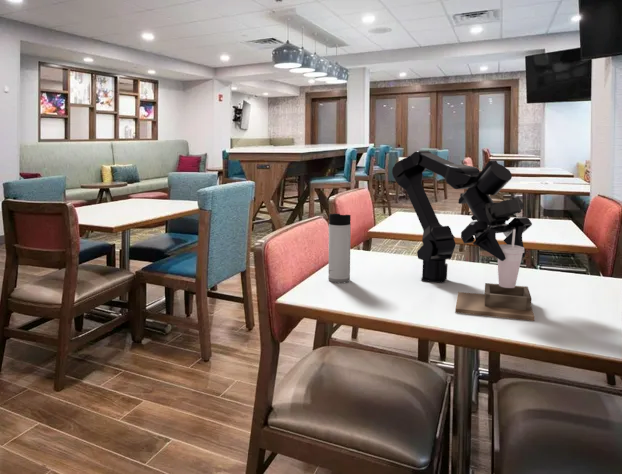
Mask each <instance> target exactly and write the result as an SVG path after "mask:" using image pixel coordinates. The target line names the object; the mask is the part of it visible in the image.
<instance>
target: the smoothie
mask: <svg viewBox="0 0 622 474" xmlns="http://www.w3.org/2000/svg"><path fill="white" fill-rule="evenodd" d="M514 241H515V229H513V235H512V245H509V244H506V243H505V244H499V245H500V247H501V249H502V251H503V253H504V256H505V258H506V259H505V260H504V261H501V260H500V259H498V258H497V273H498V274H497V275H498V284H499V286H501V287H504V288H514V287H515V286H517V285H516V284H517V280H518V276H519V272H520V268H521V262H522V259H523V258H522V254H523V253H524V251H525V247H521V246H517V245H514Z"/></svg>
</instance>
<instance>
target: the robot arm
mask: <svg viewBox="0 0 622 474" xmlns="http://www.w3.org/2000/svg"><path fill="white" fill-rule="evenodd" d="M427 170H429V171H431V172H432V173H434V174H436V175H438V176H440V177H442V178H444V180H445V183H446V184H448V185H449V186H450V187H451V188H453V189H454V190H465V191H464V192H462V193H460V194H459V195H460V197H459V199H458V204H460V205H461V204H467V206H468V208H469V209H470V211H471V213H472V216H470V218H471V221H470V223H469V224H468V225H467V226H466V227H465V228H464V229H463V230H462V231H461V233H460V238H461V240H462V242H463V244H472V245H474V246H477V247H479V248H481V249H482V250H484V251H486V252H487V253H489V254H490V255H492V256H494V257H495V258H496V259H497V260H498V259H500V260H501V261H504V260H505V259H506V258H505V256H504V253H503V251H502V249H501V247H500V245H501V244H499V241H498V240H497V237H496V235H497V234H503V235H504V236H505V238H504V239H503V242H504V243H505V244H509V245H512V235H513V229H515V241H514V245H517V246H521V247H524V243H523V233H525V232H526V231H527V230H528V229H529V228H530V227H532V226H533V223H532V222H531V220H530V218H529V217H526V216H520V217H513V219H512V220H511V221H510V222H509V220H510V219H511V216H512V215H516V214H520V213H522V210H523V209H524V202H523V201H522V200H521V198H520V197H513V198H510V199H506V200H505V199H504V200H502V201H500V202H494V200H493V199H492V197H491V196H495V195H497V194H498V193H499V192H500V191H501V190H502V189H503V188H504V187H505V186H507V184H508V183H509V182H510V181H511V180H512V177H513V174H512V172H511V171H510V169H508V168H507V167H506V166H505V165H502V164H500V163H499V162H498V161H497V160H489V161H488V162H487V163H486V165H485V167H484V168H483V169H482V171H480V169H479V168H478V167H476V166H473V165H472V166H471V165H466V164H457V163H454V162H451V161H450V160H448V159H445V158H443V157H440V156H438V155H436V154H435V153H432V152H431V151H429V150H417V151H414V152H413V153H411V154H410V155H408V156H407V157H404V158H402V159H400V160H399V161H397V162H395V164H394V165H393V167H392V169H391V172H392V173H391V174H392V177H393V179H394V180H395V182H396V183H397V185H398V186H400V187H401V188H402V189H403V190H405V192H406V194H407V196H408V199H409V201H410V203H411V205H412V208H413V210H414V212H415V214H416V217H417V219H418V221H419V223H420V225H421V227H422V230H423V232H422V239H421V242H422V245H421V246H420V248H418V250H417V251H416V254H417V259H419V260H421V261H422V271H421V272H422V273H421V278H420V281H423V282H431V283H432V282H434V283H445V281H446V280H447V279H448V268H449V267H448V263H446V262H447V260H451V259H452V256H453V253H454V251H455V248H456V240H455V239H456V237H455V236H454V234H453V231H452V229H451V227H450V226H449V225H442V224H440V222H439V219H438V217H437V214H436V213H435V211H434V208H433V206H432V204H431V202H430V199H429V197H428V195H427V193H426V190H425V189H424V187H423V184H422V182H423V179H424V178H423V177H424V172H426V171H427ZM506 222H508V223H506ZM524 248H525V247H524ZM525 257H526V253H525V250H524V253H523V254H522V259H524V258H525Z"/></svg>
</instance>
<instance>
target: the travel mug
mask: <svg viewBox="0 0 622 474" xmlns="http://www.w3.org/2000/svg"><path fill="white" fill-rule="evenodd" d="M351 216H352V214H340V213H335V212H334V213H329V214H328V281H329V282H330V283H334V282H336V283H335V284H345V283H348V282H349V281H350V279H351V225H352V224H351V220H352V219H351ZM344 282H345V283H344Z"/></svg>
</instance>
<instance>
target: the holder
mask: <svg viewBox="0 0 622 474" xmlns="http://www.w3.org/2000/svg"><path fill="white" fill-rule="evenodd" d="M454 313H457V314H464V315H475V316H484V317H492V318H503V319H514V320H523V321H530V322H531V321H532V322H533V321H535V319H536V318H535V314H534V313H535V312H534V311H533V307H532V295H531V293H530V289H529V287H528V286H527V285H526V286H525V285H515V287H514V288H504V287H501V286H499V283H491V282H490V283H488V282H487V283H485V285H484V293H473V292H464V291H463V292H462V291H458V292H457V297H456V304H455V310H454Z"/></svg>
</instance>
